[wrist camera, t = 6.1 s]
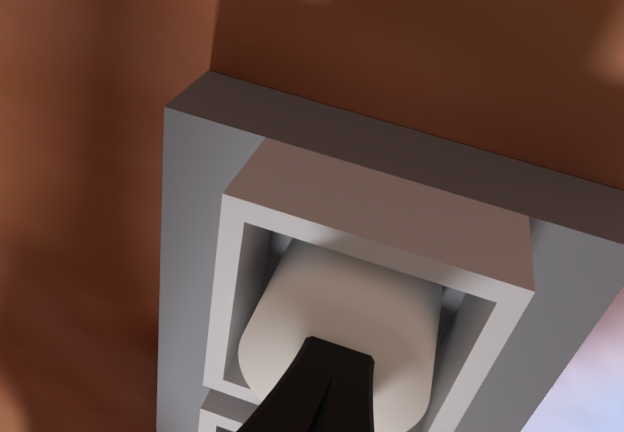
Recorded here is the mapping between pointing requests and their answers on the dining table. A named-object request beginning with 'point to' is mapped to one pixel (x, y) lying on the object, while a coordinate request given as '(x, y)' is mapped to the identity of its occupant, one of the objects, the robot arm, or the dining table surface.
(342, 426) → the robot arm
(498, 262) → the panel
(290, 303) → the knob
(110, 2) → the dining table surface
